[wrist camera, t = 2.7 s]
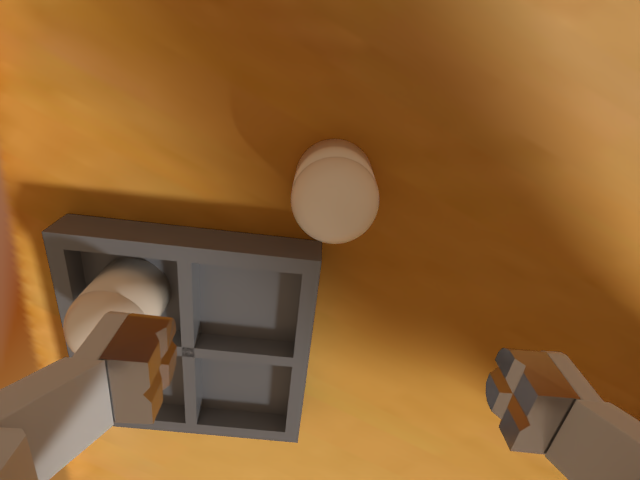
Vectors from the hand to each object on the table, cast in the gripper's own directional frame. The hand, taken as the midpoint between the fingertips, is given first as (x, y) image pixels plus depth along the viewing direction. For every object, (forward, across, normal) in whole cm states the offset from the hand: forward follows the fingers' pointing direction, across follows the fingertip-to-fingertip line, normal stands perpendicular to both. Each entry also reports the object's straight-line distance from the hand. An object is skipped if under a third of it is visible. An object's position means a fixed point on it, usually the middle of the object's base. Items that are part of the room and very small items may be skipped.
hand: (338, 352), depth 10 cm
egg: (+15, 0, 0) cm, 15 cm away
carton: (+15, +7, +12) cm, 21 cm away
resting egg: (+14, +11, +9) cm, 20 cm away
